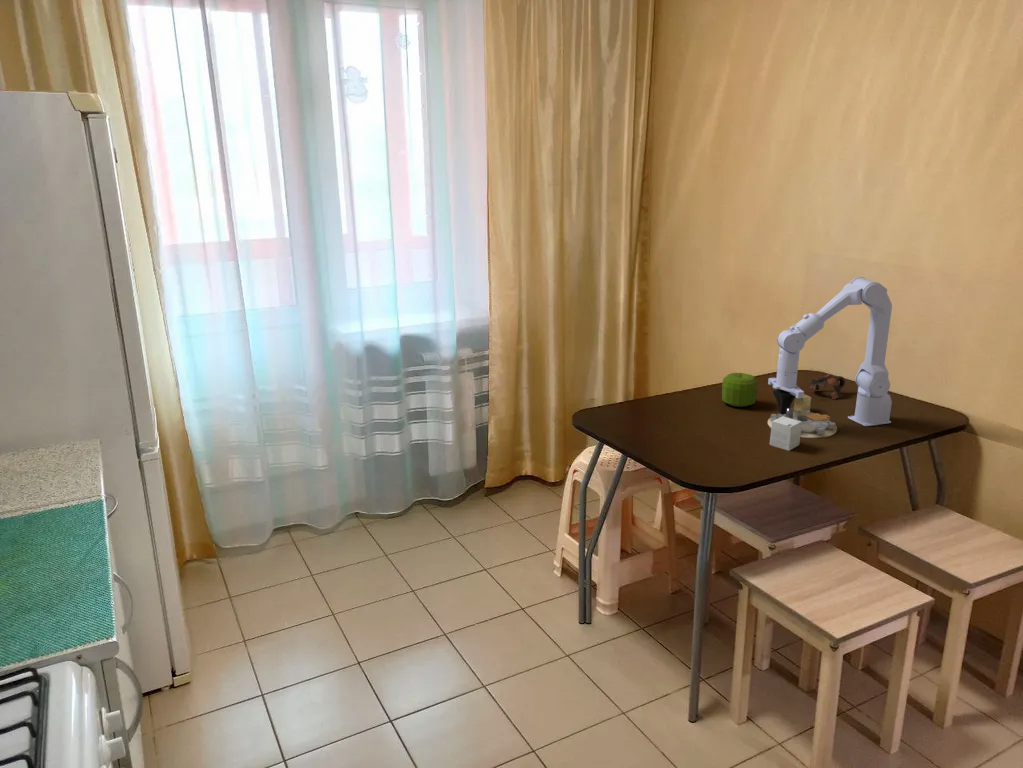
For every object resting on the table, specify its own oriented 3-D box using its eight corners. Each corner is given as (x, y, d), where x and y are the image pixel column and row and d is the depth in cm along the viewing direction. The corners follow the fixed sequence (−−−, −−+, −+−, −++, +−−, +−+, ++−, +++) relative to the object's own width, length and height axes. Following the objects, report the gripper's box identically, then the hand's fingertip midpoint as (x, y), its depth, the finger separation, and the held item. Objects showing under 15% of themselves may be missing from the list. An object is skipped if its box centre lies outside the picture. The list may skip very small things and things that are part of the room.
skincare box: (779, 439, 215) (782, 415, 213) (799, 445, 211) (802, 420, 208) (768, 445, 211) (771, 420, 209) (789, 451, 207) (791, 426, 205)
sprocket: (808, 410, 235) (810, 394, 233) (847, 430, 219) (850, 412, 217) (758, 417, 230) (759, 400, 229) (795, 438, 214) (797, 420, 212)
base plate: (808, 411, 236) (808, 410, 236) (851, 433, 218) (852, 432, 218) (754, 418, 231) (754, 417, 231) (794, 441, 213) (794, 440, 213)
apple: (723, 409, 239) (725, 377, 236) (718, 398, 250) (720, 367, 246) (759, 410, 238) (762, 378, 235) (752, 399, 248) (755, 368, 245)
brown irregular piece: (828, 403, 245) (817, 380, 245) (811, 407, 254) (800, 384, 255) (856, 389, 248) (846, 367, 249) (838, 393, 257) (828, 372, 258)
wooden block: (793, 409, 239) (795, 394, 237) (801, 408, 240) (803, 393, 238) (801, 413, 235) (803, 398, 234) (809, 412, 236) (811, 397, 234)
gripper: (761, 365, 227) (757, 407, 231) (791, 378, 214) (786, 423, 218) (781, 363, 229) (777, 404, 233) (811, 376, 216) (807, 420, 220)
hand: (782, 413), depth 226 cm, fingers closed
